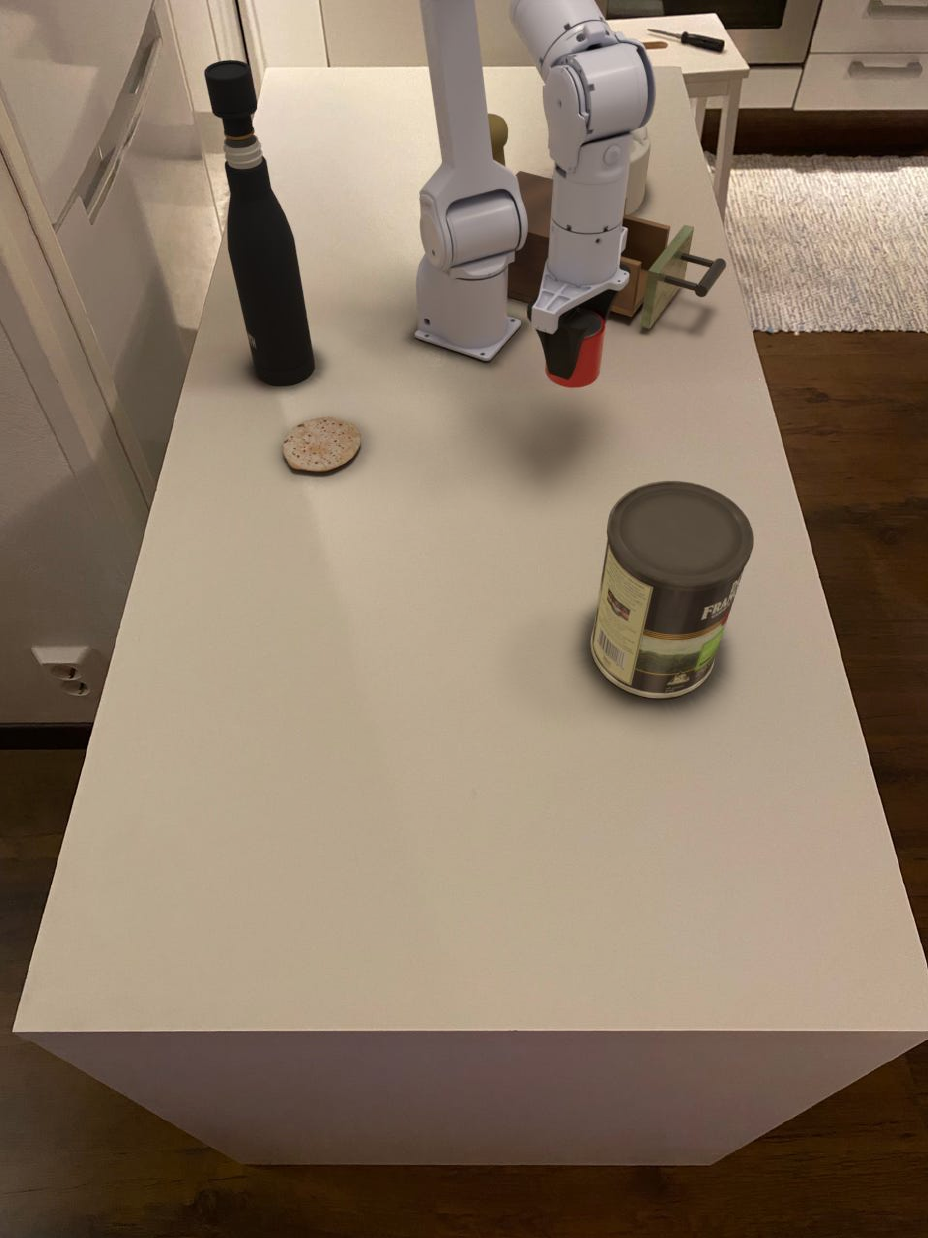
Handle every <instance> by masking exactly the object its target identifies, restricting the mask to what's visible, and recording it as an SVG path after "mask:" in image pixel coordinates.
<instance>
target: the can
mask: <svg viewBox="0 0 928 1238" xmlns="http://www.w3.org/2000/svg"><path fill="white" fill-rule="evenodd" d="M578 312H580V313H583V314H586V315H589V316H593V317H596V319H595V320H594V321H593V323H592V324H591V326H590V327H589V329H588V331H587V332H586V335H585V337H584V339H583V342H582V344H581V347H580V351H579V355H578V360H577V364H576V367H575V370H574V372H573V374H572V376H571V377H570V379H569V380H566V379H563V378H560V377H557V376H555V375H552V374H549V372H548V368H547V364H546V363H545V366H544V367H545V368H544V371H545V372H544V373H545V375H546V376H547V378H548V379H549V380H550V381H551V382H552V383H554V384H555V385H558V386H561V387H563V388H564V387H565V388H569V389H570V388H573V389H575V388H576V389H578V388H583V387H586V386H589V385H592V384H593V383H595V381H597V380H598V378H599V376H600V373H601V365H602V357H603V351H604V343H605V342H604V341H605V334H606V333H605V332H606V324H605V321H604V320H603V318H602V317H601V316H600V315H599V314H597V313H596V312H594V311H591V310H588V309H584V308H578Z"/></svg>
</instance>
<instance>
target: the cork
mask: <svg viewBox="0 0 928 1238" xmlns="http://www.w3.org/2000/svg"><path fill="white" fill-rule="evenodd" d="M488 121H489V130H490V138H491V147H492V156H493V160H495V161H496V162H498V163H500V164H501V165H503V166H505V167H506V168H507V165H506V157H505V146H506V144H507V142H508V139H509V126H508V123H507V122H506V120H505V119H504V118H503V117H502V116H500V115H498V114H495V113H488Z"/></svg>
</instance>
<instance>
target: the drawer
mask: <svg viewBox="0 0 928 1238" xmlns="http://www.w3.org/2000/svg"><path fill="white" fill-rule="evenodd" d="M622 227H625V228H628V232H627V239H626V247H625V249H624V250H623V252H621V256H620V263H621V264H624V265H626V266H628V267H629V268H630V269H631V274H630V277H629V281H628V283H627V284H626V286H625V287H624V288H623V289H622V290H620V292H619V293H618V295H617V297H616V299H615V301H614V303H613V306H612V308H611V310H610V312H614V313H617V314H619V315H623V316H626V317H630V318H631V317H633V316H634V314H635V313H636V312H637V310H638V309H639V308H640V306H641V305H642V308H641V309H642V310H641V316H640V323H639V327H642V328H645V329H651V328H652V326H653V325H654V323H655V322H656V321H657V320H658V318H659V317H660V315H662V313H663V311H664V310H665V309H666V307H667V306H668V305H669V303H670V302H671V300H672V299H673V298H674V296H675V295H676V294H677V292H678V291H679V289H680V288H683V289H686V290H690V291H693V292H694V294H695V295H696V296H697V297H698V298H704V297H706V296H707V295H708V294H709V292H710V290H711V289H713V286H714V285H715V283H716V282H717V281H718V279H719V278H720V277H721V275H722V274H723V272H724V270H726V268H727V262H726V260H725V259H724V258H721V257H719V258H716V259H715V260H712V259H708V258H704V257H701V256H698V255H694V254H690V252H691V247H692V241H693V237H694V232H695V227H694V226H692V225H687V224H683V226H682V227H681V228H680V229H679V231H678V232H677V233H676V235H675V236H674V237H673V238H672V240H671V241H670V242H669V239H670V238H669V237H670V233H671V232H670V231H671V225H667V224H664V223H660V222H657V221H653V220H649V219H646V218H645V219H644V218H641V217H638V216H634V215H631V214H630V215H626V214H623V222H622ZM668 243H669V244H668ZM688 263H690V264H694V265H698V266H701V267H706V268H708V269H707V271H706V272H705V274H704V275H703V276H702V278H701V279H700V280H699V282H698V283H696V282H693V281H690V280H685V278H686V274H687V269H688Z"/></svg>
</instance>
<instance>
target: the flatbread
mask: <svg viewBox="0 0 928 1238" xmlns="http://www.w3.org/2000/svg"><path fill="white" fill-rule="evenodd" d="M361 442H362V439H361V433H360V431H359V429H358V427H357V426H356V425H355V424H354V423H352V422H350V421H347V420H344V419H341V418H336V417H332V416H324V417H323V416H321V417H317V418H313V419H309V420H304V421H302V422H300V423H297V424H296V425H294V426H293V428H292V429H291V430H290V431H289V432H288V434H287V435H286V437H285V439H284V442H283V444H282V454H283V456H284V459H285V460H286V461H287V463H288V465H289V466H290V468H293V469H294V470H302V471H308V472H328V471H332V470H334V469H337V468H339V467H341V466H343V465H344V464H347V463H348V462H349V461H350V460H352V459H353V458H354V457H355V455H356V453H357V452H358V450H359V449H360V446H361Z"/></svg>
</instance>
